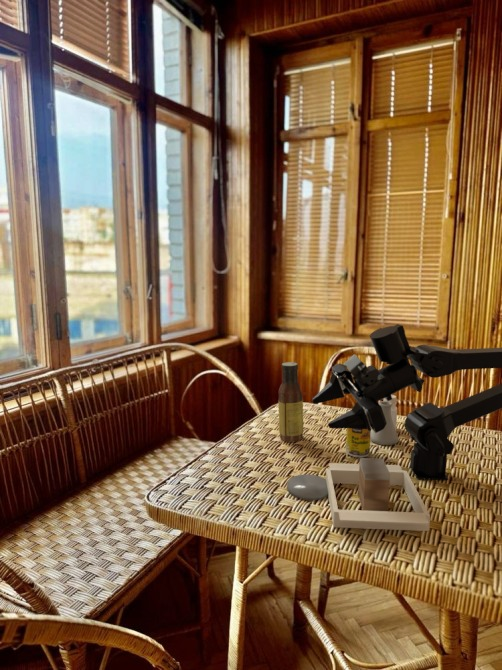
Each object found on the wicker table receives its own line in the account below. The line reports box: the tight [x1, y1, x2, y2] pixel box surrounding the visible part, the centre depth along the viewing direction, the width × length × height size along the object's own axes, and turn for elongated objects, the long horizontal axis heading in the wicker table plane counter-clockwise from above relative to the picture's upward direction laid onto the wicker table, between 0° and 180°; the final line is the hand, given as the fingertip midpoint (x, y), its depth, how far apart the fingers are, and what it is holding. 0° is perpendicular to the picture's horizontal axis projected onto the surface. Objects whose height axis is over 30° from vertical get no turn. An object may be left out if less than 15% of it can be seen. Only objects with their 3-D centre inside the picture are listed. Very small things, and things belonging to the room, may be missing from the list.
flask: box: [370, 400, 400, 446], centre depth 121 cm, size 7×7×10 cm
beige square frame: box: [325, 462, 431, 532], centre depth 92 cm, size 17×21×3 cm
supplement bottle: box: [345, 427, 372, 459], centre depth 113 cm, size 6×6×10 cm
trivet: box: [286, 474, 328, 501], centre depth 98 cm, size 9×9×1 cm
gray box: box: [357, 457, 391, 511], centre depth 91 cm, size 4×6×8 cm
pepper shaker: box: [383, 394, 398, 431], centre depth 128 cm, size 4×4×10 cm
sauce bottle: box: [278, 361, 304, 443], centre depth 121 cm, size 7×6×20 cm
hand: (320, 413), depth 98 cm, fingers open, 9 cm apart
